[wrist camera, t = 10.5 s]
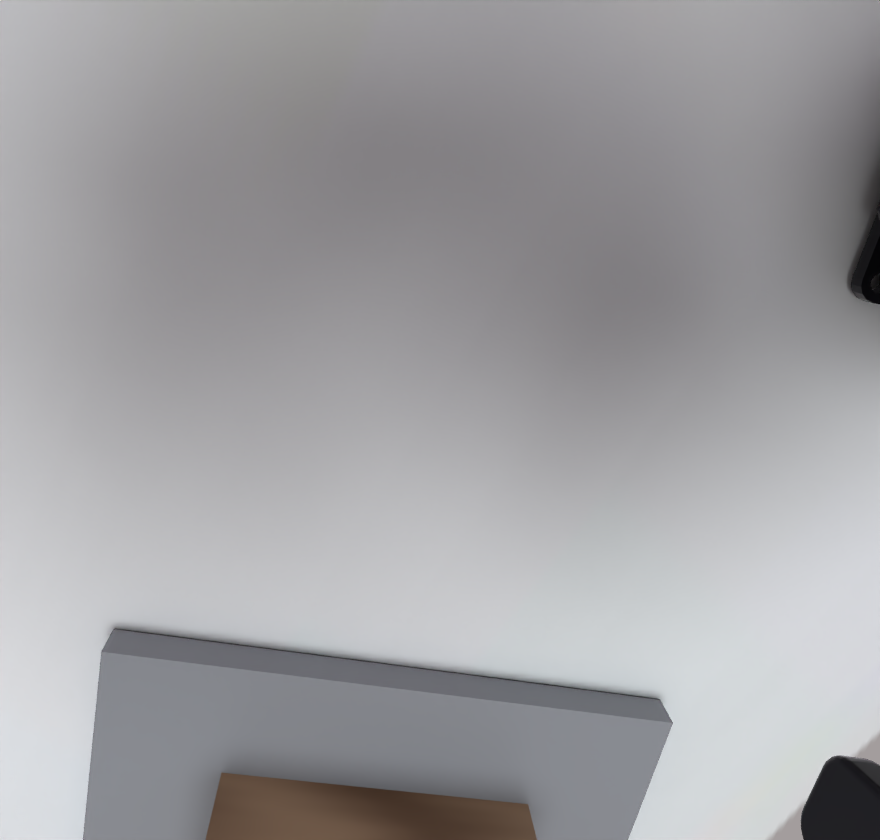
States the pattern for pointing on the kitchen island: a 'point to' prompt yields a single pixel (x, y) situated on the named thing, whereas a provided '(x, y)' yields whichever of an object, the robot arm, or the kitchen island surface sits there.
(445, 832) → the walnut brick
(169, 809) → the baseplate
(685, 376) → the kitchen island surface
